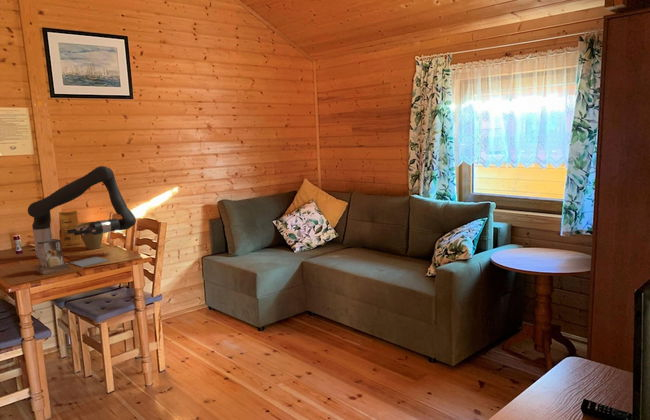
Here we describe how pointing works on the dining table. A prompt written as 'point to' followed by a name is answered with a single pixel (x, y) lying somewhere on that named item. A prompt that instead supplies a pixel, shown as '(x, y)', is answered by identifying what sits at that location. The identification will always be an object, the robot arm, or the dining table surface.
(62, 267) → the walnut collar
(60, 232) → the coffee package
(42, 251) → the coffee box
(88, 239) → the plant pot
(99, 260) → the rubber mat
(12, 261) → the dining table surface
